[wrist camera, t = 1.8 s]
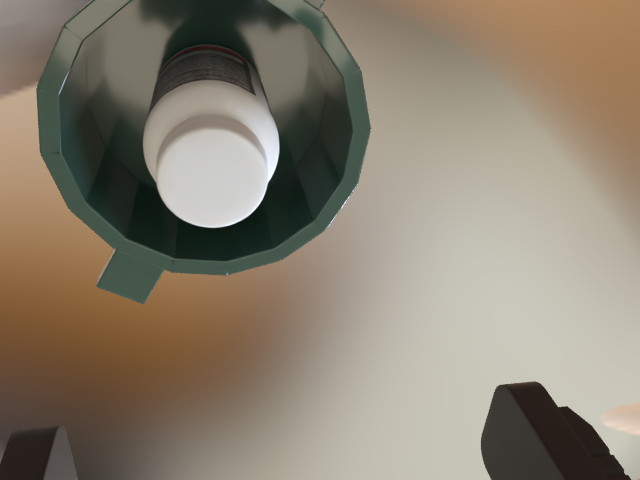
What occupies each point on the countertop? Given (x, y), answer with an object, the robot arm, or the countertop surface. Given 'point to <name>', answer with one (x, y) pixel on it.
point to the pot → (131, 114)
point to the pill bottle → (210, 136)
